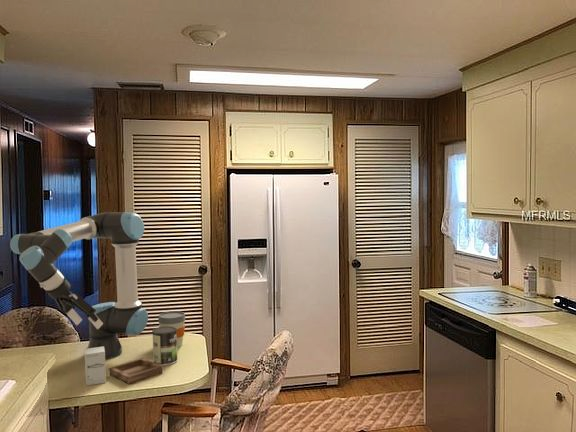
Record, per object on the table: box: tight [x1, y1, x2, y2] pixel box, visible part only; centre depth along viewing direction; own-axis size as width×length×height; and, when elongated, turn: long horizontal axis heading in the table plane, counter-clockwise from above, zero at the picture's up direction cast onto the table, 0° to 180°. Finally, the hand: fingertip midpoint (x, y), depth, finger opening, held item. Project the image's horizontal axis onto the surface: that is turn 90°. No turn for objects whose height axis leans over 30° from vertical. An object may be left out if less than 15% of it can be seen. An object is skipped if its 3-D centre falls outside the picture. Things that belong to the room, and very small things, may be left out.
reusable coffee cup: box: [157, 310, 186, 349], centre depth 234 cm, size 13×13×15 cm
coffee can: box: [151, 326, 179, 367], centre depth 214 cm, size 10×10×14 cm
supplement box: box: [84, 346, 107, 387], centre depth 194 cm, size 7×7×13 cm
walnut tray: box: [108, 357, 163, 386], centre depth 201 cm, size 15×15×3 cm
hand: (89, 324), depth 186 cm, fingers open, 13 cm apart
